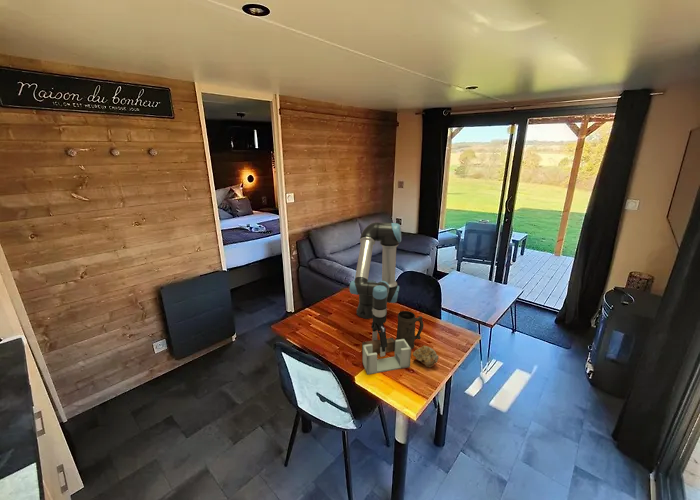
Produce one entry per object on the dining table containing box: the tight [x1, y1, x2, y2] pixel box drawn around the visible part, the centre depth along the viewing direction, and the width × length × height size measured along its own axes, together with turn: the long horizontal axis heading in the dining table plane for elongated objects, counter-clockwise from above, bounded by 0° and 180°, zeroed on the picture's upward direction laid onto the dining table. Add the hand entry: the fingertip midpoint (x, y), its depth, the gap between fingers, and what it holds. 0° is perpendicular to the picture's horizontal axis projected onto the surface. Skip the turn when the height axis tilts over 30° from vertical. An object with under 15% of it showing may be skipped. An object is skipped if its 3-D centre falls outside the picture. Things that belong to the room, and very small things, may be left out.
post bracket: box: [361, 339, 412, 376], centre depth 154 cm, size 9×23×11 cm, turn 103°
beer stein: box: [395, 310, 424, 350], centre depth 170 cm, size 15×11×20 cm
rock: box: [412, 345, 440, 368], centre depth 155 cm, size 12×10×10 cm
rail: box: [361, 337, 396, 355], centre depth 166 cm, size 18×4×6 cm, turn 103°
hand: (378, 348), depth 166 cm, fingers open, 13 cm apart
